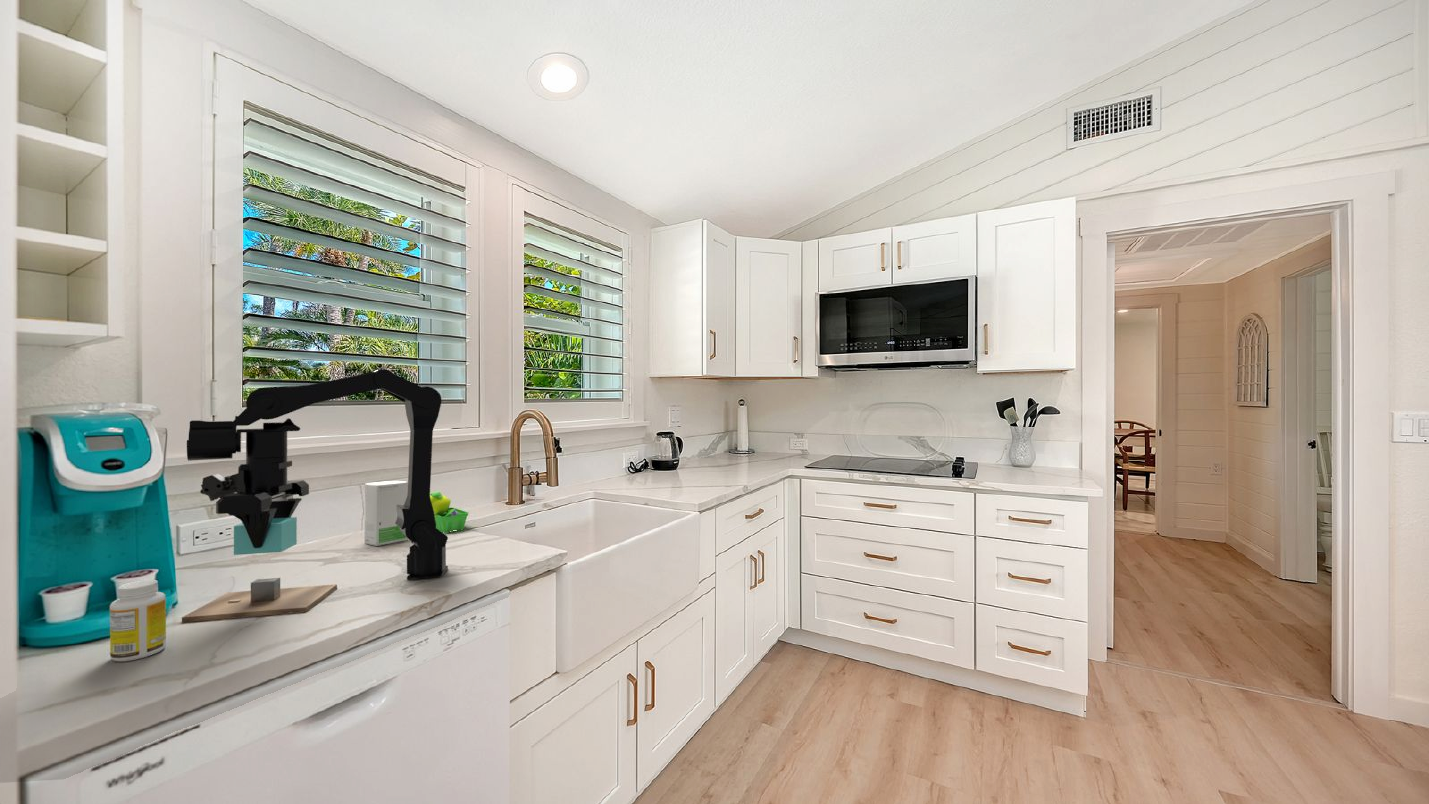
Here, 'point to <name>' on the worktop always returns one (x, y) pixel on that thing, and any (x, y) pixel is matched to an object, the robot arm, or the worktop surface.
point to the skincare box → (383, 511)
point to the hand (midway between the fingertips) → (266, 543)
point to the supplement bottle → (137, 621)
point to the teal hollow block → (267, 537)
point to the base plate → (261, 603)
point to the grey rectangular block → (265, 590)
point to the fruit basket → (447, 514)
